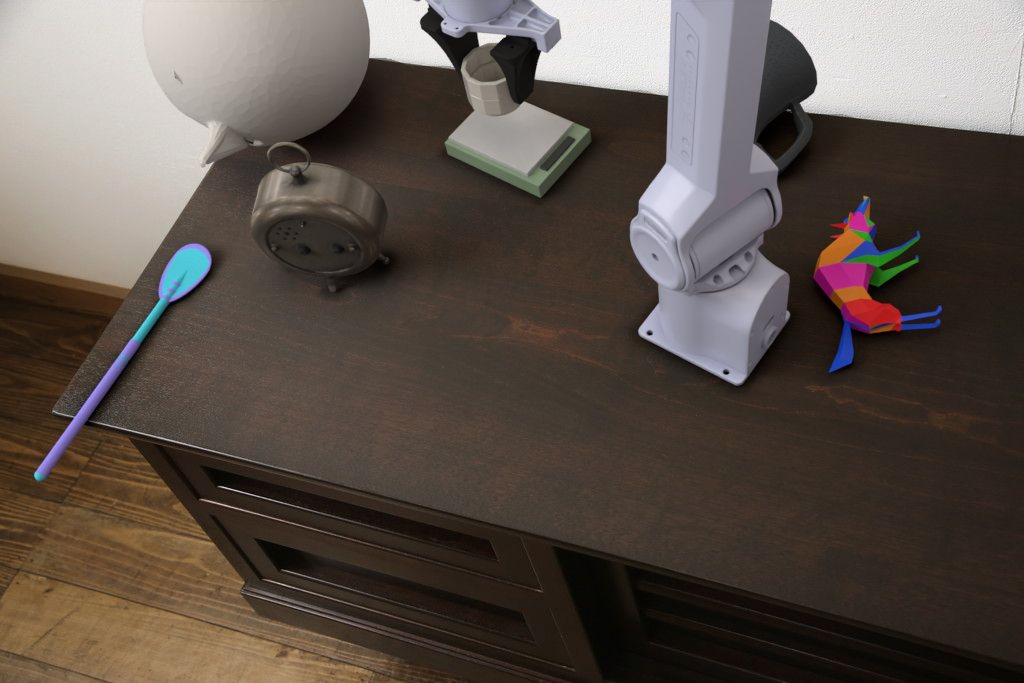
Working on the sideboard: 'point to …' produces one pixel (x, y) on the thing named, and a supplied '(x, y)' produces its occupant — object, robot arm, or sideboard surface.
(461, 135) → the scale
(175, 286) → the spoon
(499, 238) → the sideboard surface
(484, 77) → the bowl
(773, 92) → the mug
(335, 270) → the alarm clock
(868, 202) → the figurine
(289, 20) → the mask
